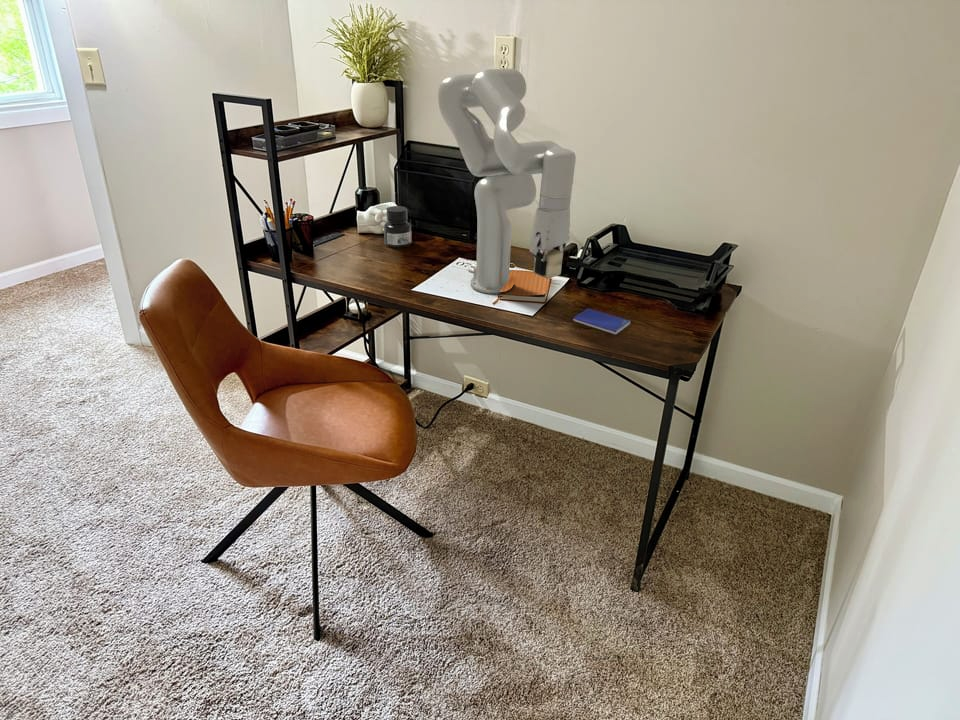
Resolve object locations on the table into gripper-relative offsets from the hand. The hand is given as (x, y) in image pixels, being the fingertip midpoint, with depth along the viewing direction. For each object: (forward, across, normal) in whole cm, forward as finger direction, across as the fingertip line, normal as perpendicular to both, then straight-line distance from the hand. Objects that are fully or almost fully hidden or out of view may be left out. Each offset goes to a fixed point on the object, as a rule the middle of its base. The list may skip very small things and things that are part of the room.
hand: (547, 270), depth 171 cm
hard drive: (+13, -8, +14) cm, 20 cm away
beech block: (+1, 0, 0) cm, 1 cm away
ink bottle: (+16, -8, -69) cm, 71 cm away
